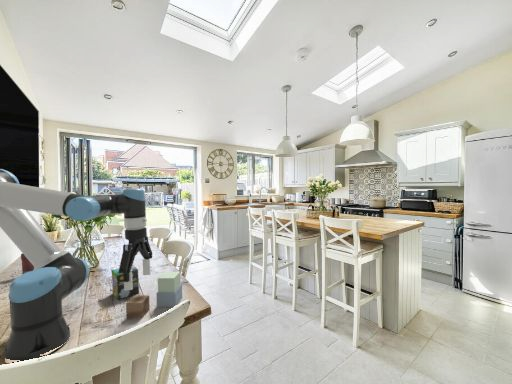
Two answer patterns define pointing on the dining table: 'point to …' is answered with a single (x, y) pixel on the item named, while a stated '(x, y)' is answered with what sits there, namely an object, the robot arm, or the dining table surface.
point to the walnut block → (137, 306)
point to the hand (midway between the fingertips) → (138, 281)
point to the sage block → (169, 282)
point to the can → (26, 264)
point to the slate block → (169, 298)
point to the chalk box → (119, 283)
